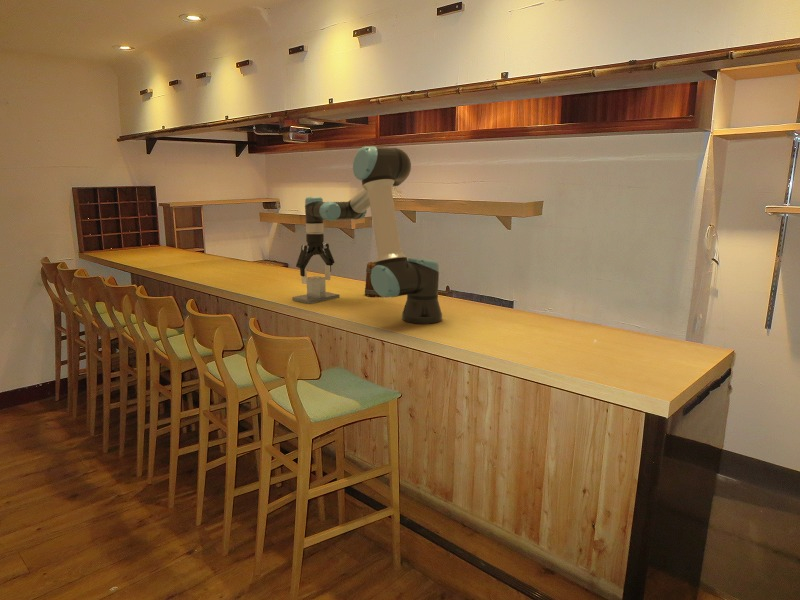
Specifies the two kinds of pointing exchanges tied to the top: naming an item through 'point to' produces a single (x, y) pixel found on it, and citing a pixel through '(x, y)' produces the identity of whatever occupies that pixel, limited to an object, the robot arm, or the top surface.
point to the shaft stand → (314, 300)
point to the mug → (369, 288)
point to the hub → (316, 287)
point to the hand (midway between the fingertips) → (316, 281)
